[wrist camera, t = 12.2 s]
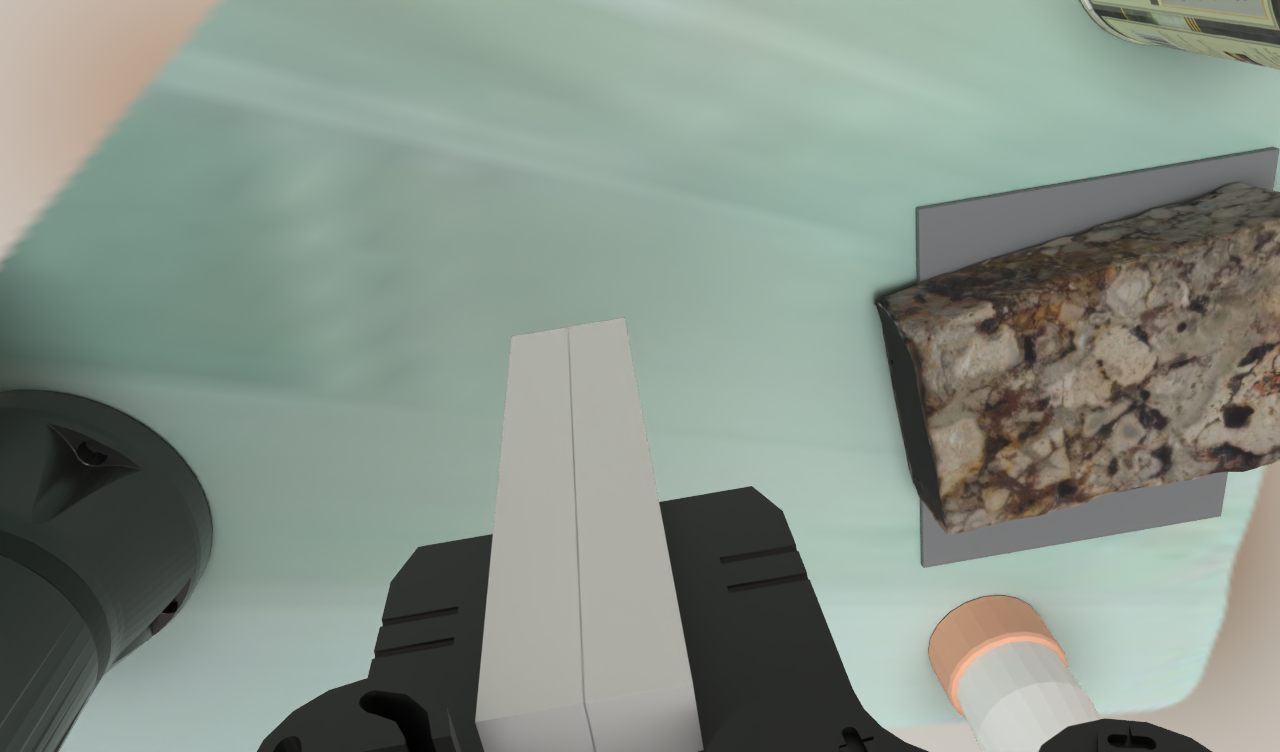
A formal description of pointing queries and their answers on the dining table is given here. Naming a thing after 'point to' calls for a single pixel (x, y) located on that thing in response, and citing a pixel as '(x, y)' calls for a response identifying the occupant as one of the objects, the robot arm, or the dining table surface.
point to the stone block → (1093, 362)
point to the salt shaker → (1007, 675)
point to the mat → (1033, 220)
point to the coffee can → (1197, 26)
